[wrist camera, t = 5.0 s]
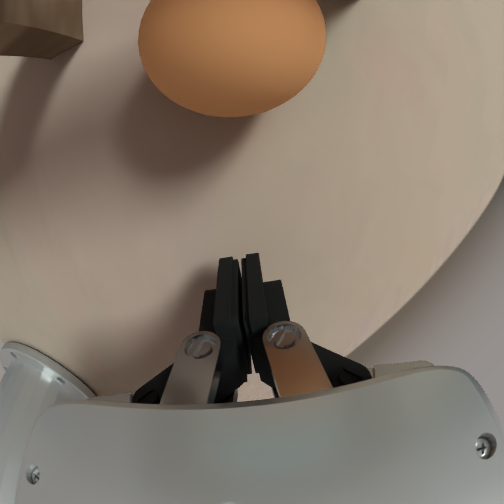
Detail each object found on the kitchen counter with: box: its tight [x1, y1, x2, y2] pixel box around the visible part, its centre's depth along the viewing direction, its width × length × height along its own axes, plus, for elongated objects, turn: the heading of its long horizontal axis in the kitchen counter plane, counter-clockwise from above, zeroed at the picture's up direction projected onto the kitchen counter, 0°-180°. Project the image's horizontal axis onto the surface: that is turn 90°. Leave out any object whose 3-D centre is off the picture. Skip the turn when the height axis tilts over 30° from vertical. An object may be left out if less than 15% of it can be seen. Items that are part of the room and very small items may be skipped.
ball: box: [138, 0, 326, 117], centre depth 6 cm, size 6×6×6 cm
